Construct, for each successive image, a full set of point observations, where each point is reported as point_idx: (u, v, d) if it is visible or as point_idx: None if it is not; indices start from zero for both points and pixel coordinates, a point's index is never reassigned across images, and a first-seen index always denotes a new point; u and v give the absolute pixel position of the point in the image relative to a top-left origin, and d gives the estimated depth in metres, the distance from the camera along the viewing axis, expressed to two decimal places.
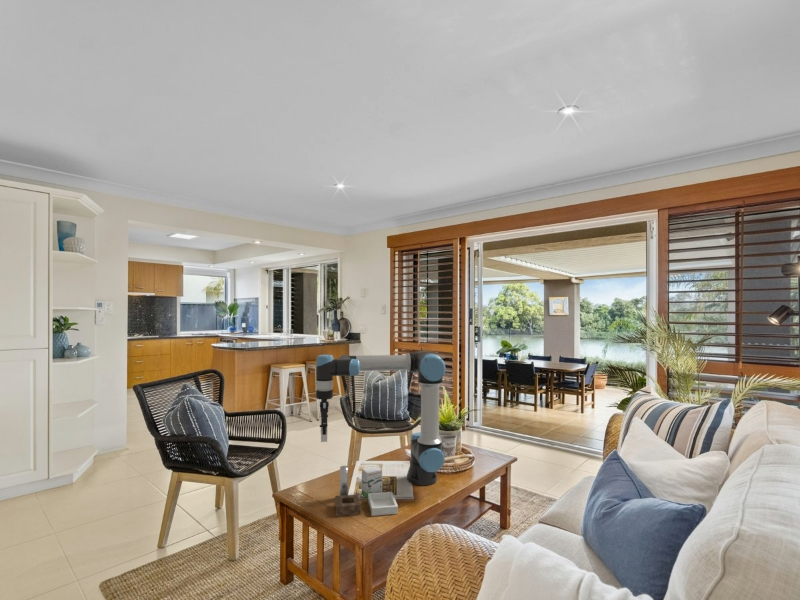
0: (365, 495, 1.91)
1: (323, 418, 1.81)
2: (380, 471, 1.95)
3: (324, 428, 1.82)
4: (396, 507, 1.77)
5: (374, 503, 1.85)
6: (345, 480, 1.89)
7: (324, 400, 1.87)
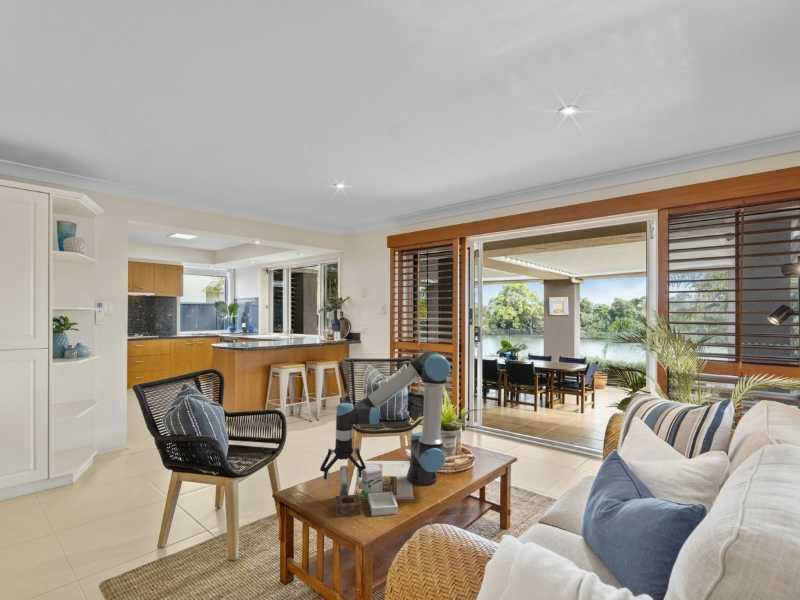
0: (365, 495, 1.91)
1: (323, 462, 1.90)
2: (380, 471, 1.95)
3: (324, 472, 1.89)
4: (396, 507, 1.77)
5: (374, 503, 1.85)
6: (345, 480, 1.89)
7: (335, 447, 1.90)
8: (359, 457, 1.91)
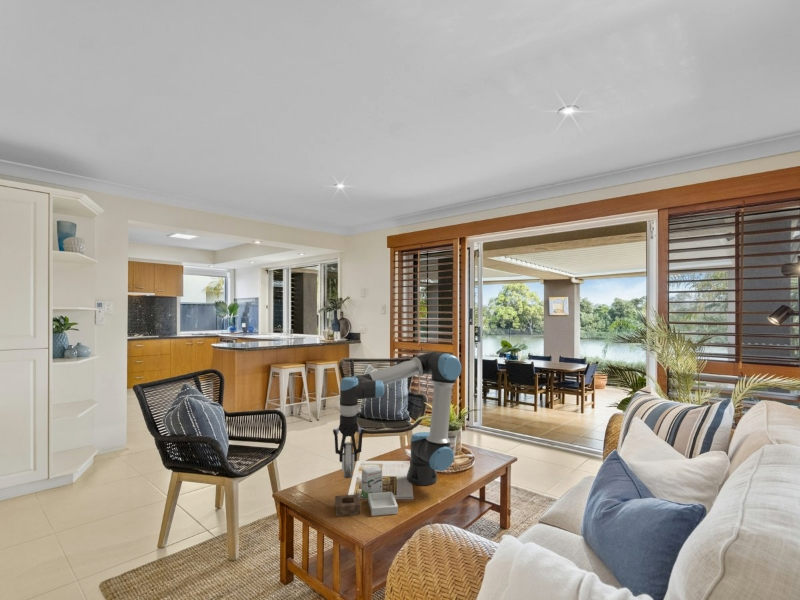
0: (365, 495, 1.91)
1: (335, 444, 1.80)
2: (380, 471, 1.95)
3: (339, 455, 1.80)
4: (396, 507, 1.77)
5: (374, 503, 1.85)
6: (349, 457, 1.79)
7: None
8: (360, 438, 1.80)
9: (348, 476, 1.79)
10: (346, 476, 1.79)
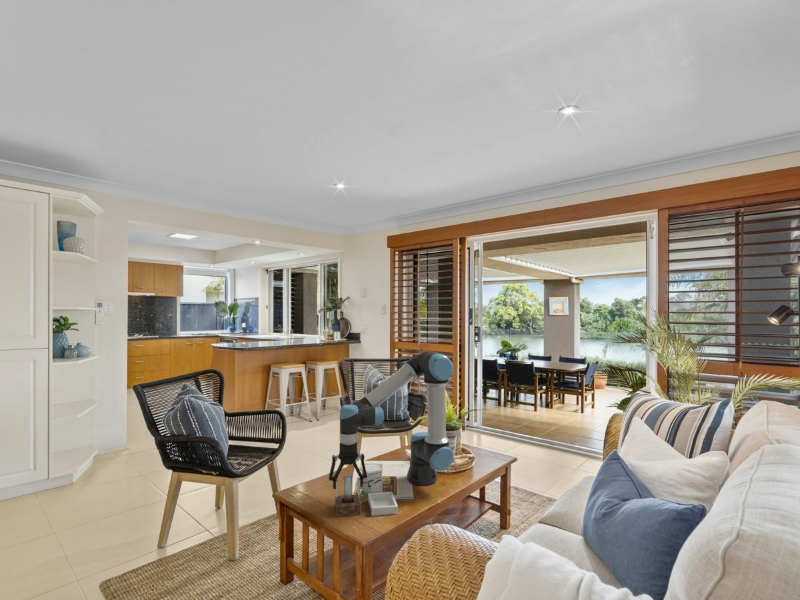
0: (365, 495, 1.91)
1: (330, 471, 1.79)
2: (380, 471, 1.95)
3: (333, 482, 1.79)
4: (396, 507, 1.77)
5: (374, 503, 1.85)
6: (349, 489, 1.79)
7: None
8: (363, 464, 1.81)
9: None
10: None
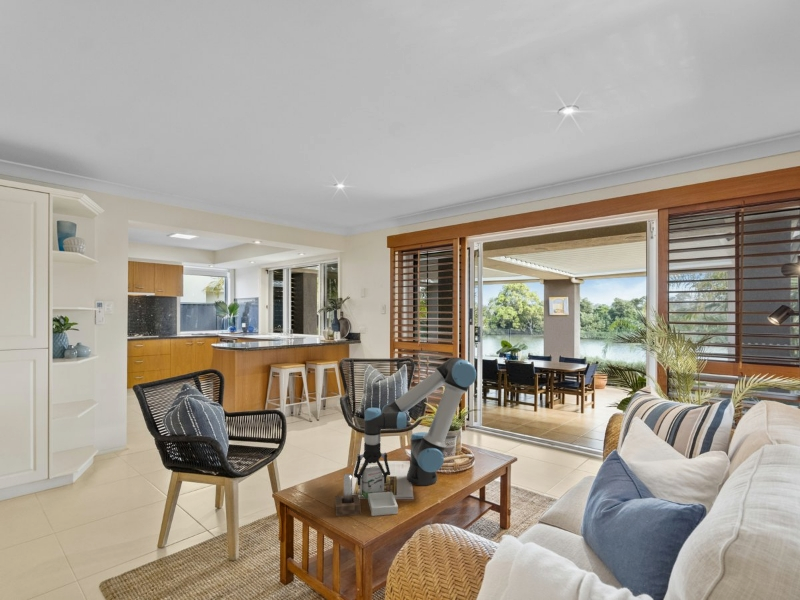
0: (365, 495, 1.91)
1: (355, 468, 1.94)
2: (380, 471, 1.95)
3: None
4: (396, 507, 1.77)
5: (374, 503, 1.85)
6: (349, 489, 1.79)
7: None
8: (386, 462, 1.95)
9: None
10: None
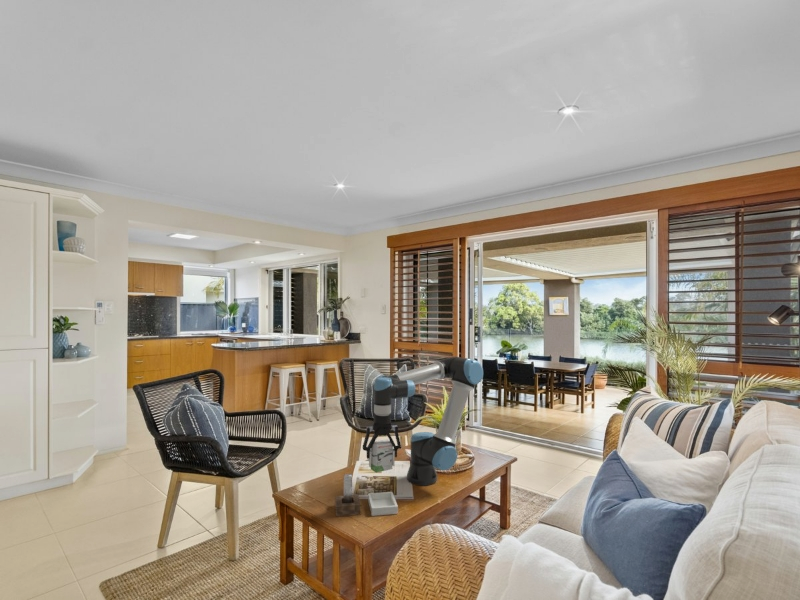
0: (374, 469, 1.80)
1: (364, 441, 1.83)
2: (390, 444, 1.84)
3: None
4: (396, 507, 1.77)
5: (374, 503, 1.85)
6: (349, 489, 1.79)
7: None
8: (397, 435, 1.84)
9: None
10: None
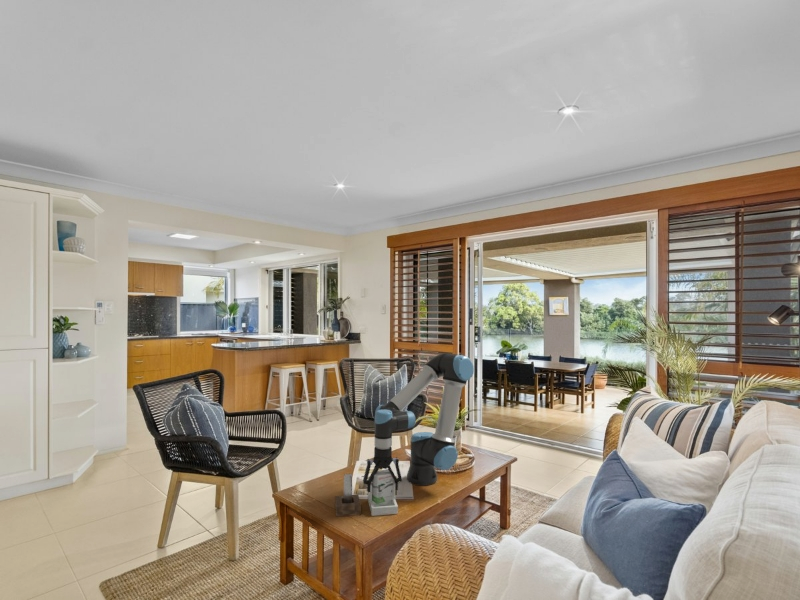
0: (375, 500, 1.80)
1: None
2: (391, 475, 1.83)
3: (367, 485, 1.82)
4: (396, 507, 1.77)
5: (374, 503, 1.85)
6: (349, 489, 1.79)
7: None
8: (397, 468, 1.83)
9: None
10: None
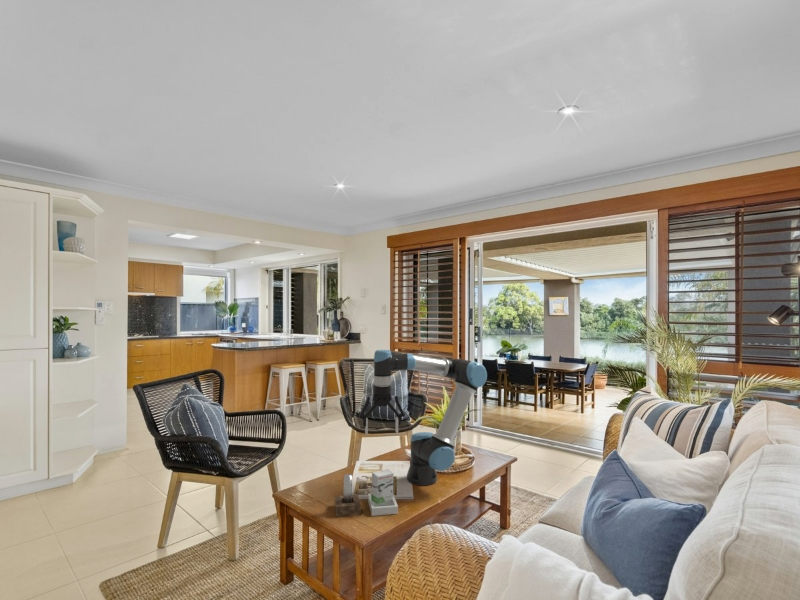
0: (375, 500, 1.80)
1: (362, 409, 1.86)
2: (391, 475, 1.83)
3: (363, 420, 1.86)
4: (396, 507, 1.77)
5: (374, 503, 1.85)
6: (349, 489, 1.79)
7: None
8: (398, 404, 1.88)
9: None
10: None
